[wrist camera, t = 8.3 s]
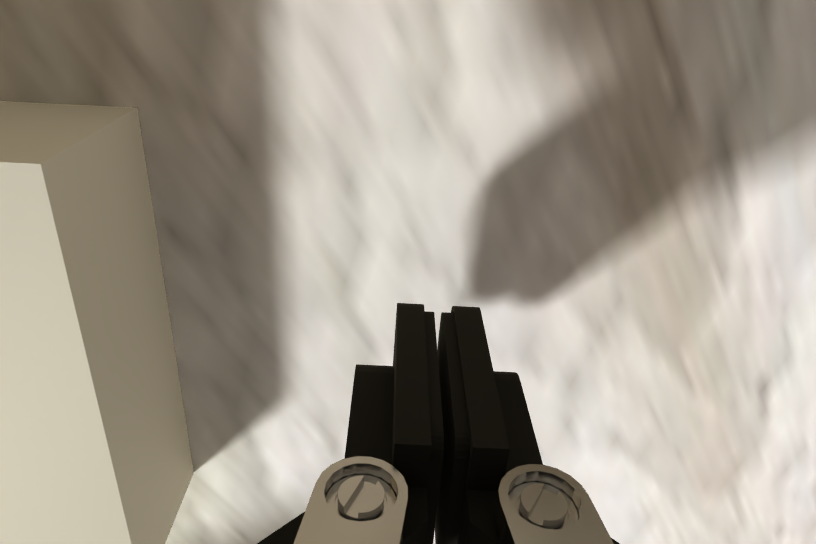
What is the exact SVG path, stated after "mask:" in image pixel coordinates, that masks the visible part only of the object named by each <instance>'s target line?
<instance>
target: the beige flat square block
mask: <svg viewBox="0 0 816 544" xmlns="http://www.w3.org/2000/svg"><path fill="white" fill-rule="evenodd" d="M193 473H194V470H193V464H192V457H191V451H190V445H189V438H188V432H187V425H186V419H185V412H184V406H183V399H182V393H181V386H180V380H179V374H178V367H177V361H176V354H175V348H174V341H173V335H172V328H171V322H170V315H169V309H168V303H167V296H166V290H165V283H164V277H163V270H162V264H161V257H160V251H159V244H158V238H157V231H156V225H155V219H154V212H153V206H152V199H151V193H150V186H149V180H148V173H147V167H146V160H145V154H144V148H143V141H142V135H141V128H140V122H139V115H138V109H137V108H133V107H113V106H93V105H73V104H54V103H34V102H14V101H0V544H165V542H166V540H167V537H168V535H169V532H170V530H171V527H172V525H173V522H174V520H175V517H176V515H177V512H178V510H179V508H180V505H181V503H182V500H183V498H184V495H185V493H186V490H187V488H188V485H189V483H190V480H191V478H192V475H193Z"/></svg>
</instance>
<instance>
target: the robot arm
mask: <svg viewBox="0 0 816 544" xmlns="http://www.w3.org/2000/svg"><path fill="white" fill-rule="evenodd" d="M434 530H435V539H436V544H619V543H618V542H616V541H615V540H614V539H612V538H611V537H610V535H609V533H608V532H607V530H606V528H605V526H604V524H603V522H602V520H601V518H600V516H599V514H598V512H597V510H596V509H595V507H594V505H593V503H592V501H591V499H590V497H589V495H588V494H587V492H586V491H585V490H584V488H583V487H582V485H581V484H580V483H579V482H577V481H576V480H575V479H574V478H573V477H571V476H570V475H568V474H567V473H565V472H563V471H561V470H559V469H557V468H553V467H550V466H546V465H543V463H542V460H541V456H540V452H539V449H538V445H537V441H536V438H535V434H534V430H533V426H532V423H531V419H530V415H529V412H528V408H527V404H526V400H525V397H524V393H523V389H522V386H521V382H520V379H519V376H518V374H517V373H514V372H495V371H493V367H492V363H491V358H490V353H489V349H488V344H487V339H486V334H485V330H484V325H483V320H482V315H481V311H480V308H479V307H461V306H453V307H452V310H451V313H442V314H441V321H440V330H439V340H438V349H437V343H436V330H435V318H434V312H424V305H423V304H405V303H397V313H396V329H395V344H394V359H393V366H376V365H356V369H355V376H354V385H353V393H352V402H351V410H350V418H349V427H348V435H347V443H346V452H345V459H342V460H340V461H338V462H336V463H334V464H332V465H330V466H329V467H328V468H327V469H326V470H325V471H323V472H322V473H321V475H320V477H319V478H318V480H317V482H316V484H315V487H314V489H313V492H312V495H311V497H310V500H309V503H308V506H307V508H306V511H305V512H304V513H302V514H301V515H299V516H298V517H296V518H295V519H293V520H292V521H290V522H289V523H287V524H286V525H284V526H283V527H281V528H280V529H278V530H277V531H275V532H274V533H272V534H271V535H269V536H268V537H266V538H265V539H263V540H262V541H260V542H259V543H257V544H433V538H434Z"/></svg>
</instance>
